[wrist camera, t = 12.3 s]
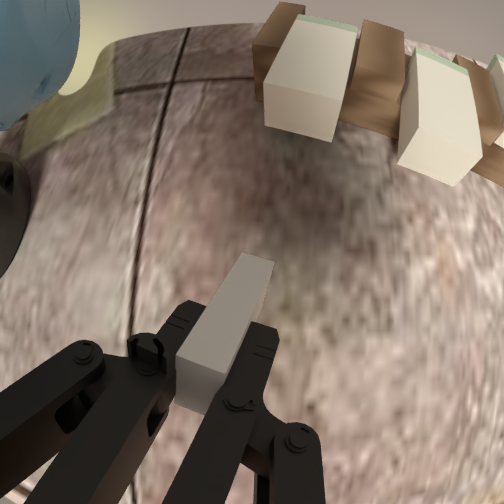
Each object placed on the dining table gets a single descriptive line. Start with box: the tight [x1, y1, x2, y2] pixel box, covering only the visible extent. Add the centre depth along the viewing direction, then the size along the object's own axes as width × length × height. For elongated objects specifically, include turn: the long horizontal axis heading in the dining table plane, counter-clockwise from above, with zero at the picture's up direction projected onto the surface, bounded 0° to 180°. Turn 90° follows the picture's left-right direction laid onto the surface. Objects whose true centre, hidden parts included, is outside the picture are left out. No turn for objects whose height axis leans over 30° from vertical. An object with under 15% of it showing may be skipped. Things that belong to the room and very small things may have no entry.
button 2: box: [263, 14, 358, 143], centre depth 18 cm, size 4×9×4 cm, turn 162°
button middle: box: [397, 47, 483, 187], centre depth 17 cm, size 4×9×4 cm, turn 162°
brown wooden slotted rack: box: [252, 2, 504, 187], centre depth 21 cm, size 28×8×6 cm, turn 72°
